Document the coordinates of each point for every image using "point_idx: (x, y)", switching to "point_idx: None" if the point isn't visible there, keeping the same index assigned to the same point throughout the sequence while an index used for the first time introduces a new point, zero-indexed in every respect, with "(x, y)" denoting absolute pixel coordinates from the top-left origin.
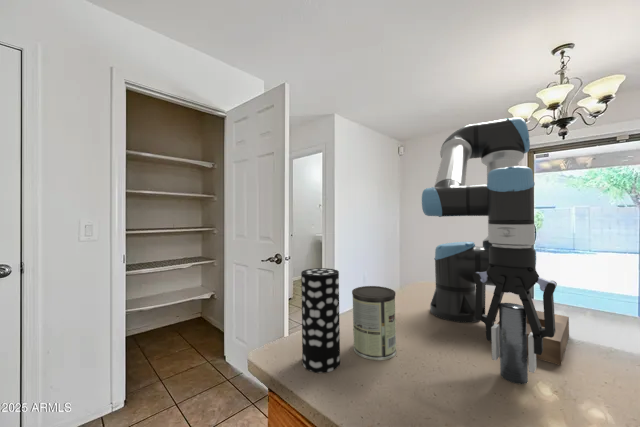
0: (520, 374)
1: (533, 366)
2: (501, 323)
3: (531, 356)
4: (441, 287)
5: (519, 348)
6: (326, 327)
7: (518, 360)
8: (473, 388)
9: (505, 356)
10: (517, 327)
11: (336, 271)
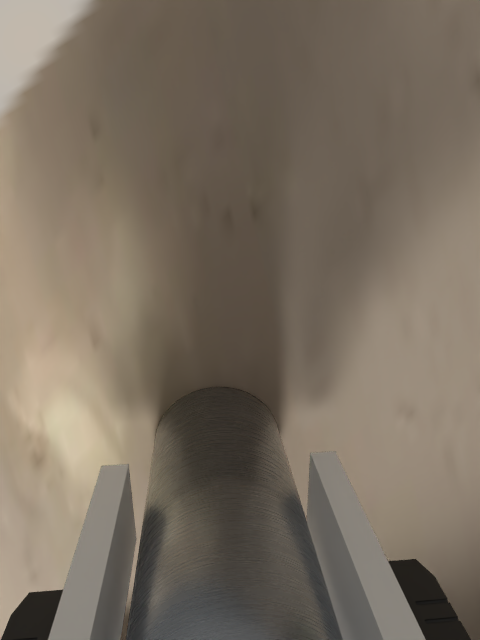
0: (172, 431)
1: (94, 494)
2: None
3: (89, 547)
4: None
5: (164, 566)
6: None
7: (177, 484)
8: (360, 165)
9: (259, 476)
10: None
11: None
